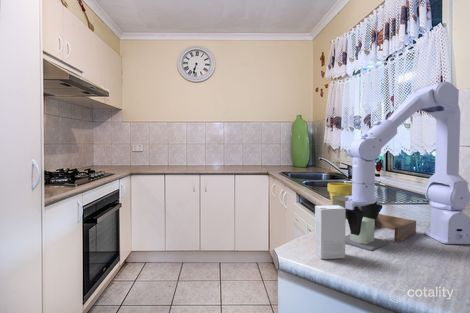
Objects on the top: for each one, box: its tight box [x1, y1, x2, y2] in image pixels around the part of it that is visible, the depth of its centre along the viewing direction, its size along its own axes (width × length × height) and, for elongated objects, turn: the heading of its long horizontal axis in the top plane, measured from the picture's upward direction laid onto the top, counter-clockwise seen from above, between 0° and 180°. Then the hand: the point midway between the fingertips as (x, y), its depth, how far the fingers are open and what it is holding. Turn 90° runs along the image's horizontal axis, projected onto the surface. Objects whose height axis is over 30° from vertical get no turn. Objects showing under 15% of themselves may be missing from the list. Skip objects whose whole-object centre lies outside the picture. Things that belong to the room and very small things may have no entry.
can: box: [331, 195, 362, 220], centre depth 110 cm, size 12×12×7 cm
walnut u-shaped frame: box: [363, 213, 417, 243], centre depth 88 cm, size 13×13×4 cm
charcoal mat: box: [345, 234, 390, 252], centre depth 80 cm, size 10×10×1 cm
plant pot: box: [327, 182, 352, 205], centre depth 128 cm, size 10×10×10 cm
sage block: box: [349, 217, 376, 244], centre depth 80 cm, size 4×4×6 cm
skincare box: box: [314, 204, 346, 260], centre depth 70 cm, size 6×4×12 cm
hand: (362, 231), depth 80 cm, fingers open, 7 cm apart
